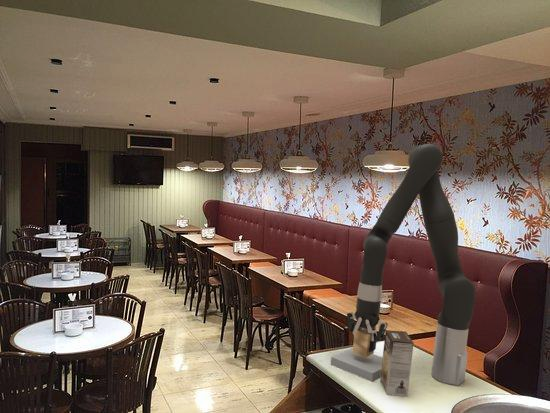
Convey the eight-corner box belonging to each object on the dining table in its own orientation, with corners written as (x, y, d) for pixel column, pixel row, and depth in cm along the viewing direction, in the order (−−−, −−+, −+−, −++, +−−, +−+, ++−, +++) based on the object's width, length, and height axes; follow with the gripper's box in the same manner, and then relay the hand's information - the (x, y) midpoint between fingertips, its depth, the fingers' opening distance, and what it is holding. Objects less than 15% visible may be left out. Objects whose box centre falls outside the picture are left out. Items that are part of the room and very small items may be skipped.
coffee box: (379, 380, 136) (384, 329, 135) (400, 382, 136) (406, 331, 134) (386, 395, 126) (392, 340, 125) (408, 397, 126) (414, 342, 125)
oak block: (373, 353, 145) (376, 332, 144) (366, 357, 141) (368, 335, 140) (360, 348, 148) (362, 328, 147) (352, 352, 144) (354, 331, 144)
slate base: (393, 369, 145) (393, 361, 145) (372, 381, 134) (372, 373, 134) (353, 354, 155) (353, 347, 155) (330, 364, 144) (331, 356, 144)
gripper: (395, 301, 141) (389, 353, 142) (355, 290, 151) (350, 339, 152) (384, 304, 136) (377, 359, 137) (343, 293, 145) (338, 344, 146)
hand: (363, 348), depth 144 cm, fingers closed on oak block, 5 cm apart
